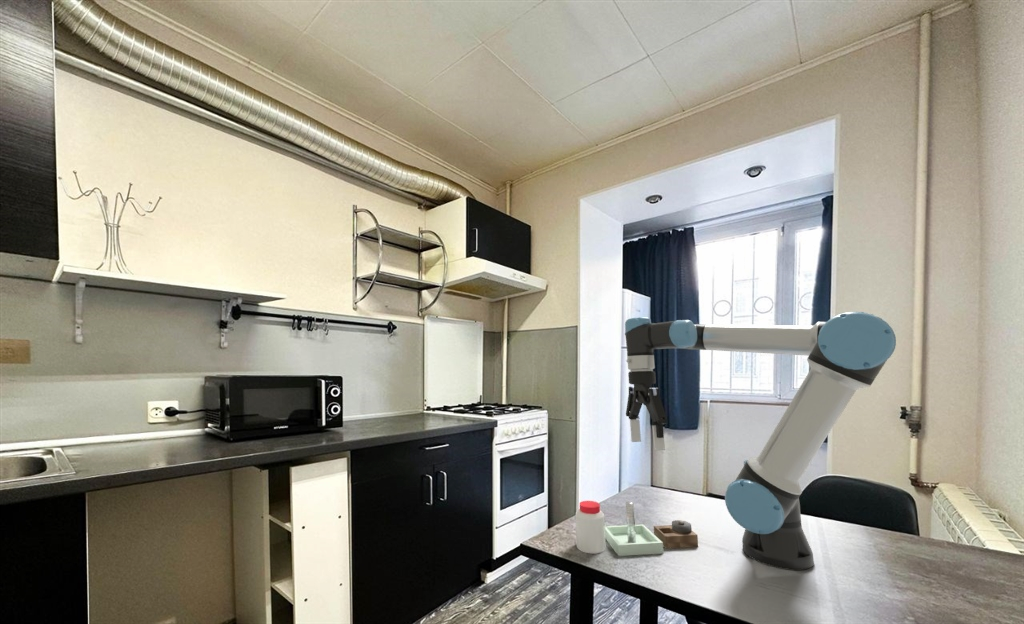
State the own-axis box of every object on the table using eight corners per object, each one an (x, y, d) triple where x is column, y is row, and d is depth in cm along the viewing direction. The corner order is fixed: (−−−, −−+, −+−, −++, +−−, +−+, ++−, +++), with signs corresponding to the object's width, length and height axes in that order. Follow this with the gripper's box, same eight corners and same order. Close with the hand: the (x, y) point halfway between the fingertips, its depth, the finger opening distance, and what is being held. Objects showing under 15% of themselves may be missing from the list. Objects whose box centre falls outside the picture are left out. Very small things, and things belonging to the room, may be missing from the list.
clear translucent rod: (636, 541, 109) (634, 502, 111) (635, 544, 107) (633, 504, 109) (628, 539, 110) (626, 501, 112) (627, 542, 108) (625, 503, 110)
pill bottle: (598, 556, 102) (596, 511, 104) (571, 548, 107) (570, 505, 108) (610, 545, 108) (608, 502, 110) (584, 538, 113) (583, 497, 114)
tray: (643, 533, 115) (643, 524, 116) (663, 553, 103) (662, 542, 104) (603, 536, 114) (603, 526, 114) (618, 556, 102) (618, 545, 103)
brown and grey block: (684, 535, 114) (683, 516, 115) (698, 546, 107) (696, 526, 108) (654, 537, 113) (653, 517, 114) (666, 548, 106) (664, 527, 107)
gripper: (612, 371, 129) (616, 439, 126) (650, 370, 104) (657, 455, 101) (634, 370, 130) (639, 438, 127) (676, 369, 106) (684, 453, 102)
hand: (647, 445), depth 114 cm, fingers open, 13 cm apart
